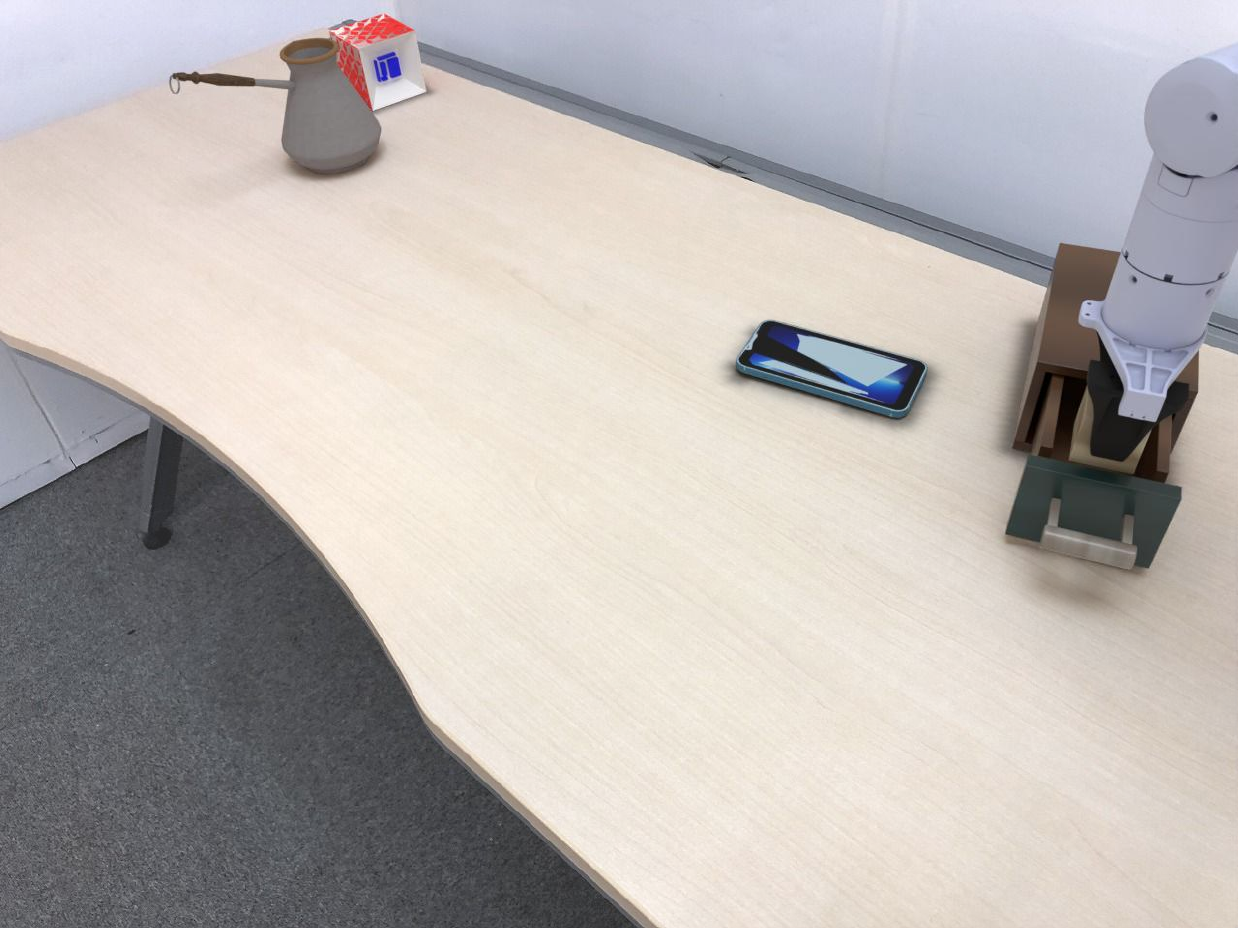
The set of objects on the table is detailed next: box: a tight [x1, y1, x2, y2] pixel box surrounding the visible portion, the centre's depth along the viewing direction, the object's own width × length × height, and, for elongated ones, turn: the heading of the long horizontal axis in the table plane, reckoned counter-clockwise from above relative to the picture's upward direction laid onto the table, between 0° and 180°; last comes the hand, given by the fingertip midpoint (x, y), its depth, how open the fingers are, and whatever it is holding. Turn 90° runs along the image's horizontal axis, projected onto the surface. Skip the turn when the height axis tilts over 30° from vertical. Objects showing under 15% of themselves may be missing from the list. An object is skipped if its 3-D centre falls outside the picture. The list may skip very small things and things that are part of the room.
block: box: [1069, 387, 1151, 474], centre depth 68 cm, size 4×4×4 cm
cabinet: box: [1011, 242, 1200, 456], centre depth 81 cm, size 17×11×9 cm, turn 158°
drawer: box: [1004, 372, 1183, 571], centre depth 72 cm, size 20×9×7 cm, turn 158°
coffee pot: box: [168, 37, 383, 175], centre depth 113 cm, size 21×12×15 cm, turn 131°
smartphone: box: [735, 319, 929, 418], centre depth 87 cm, size 7×1×15 cm
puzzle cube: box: [328, 13, 428, 112], centre depth 131 cm, size 8×8×8 cm
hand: (1109, 432), depth 68 cm, fingers closed on block, 4 cm apart
